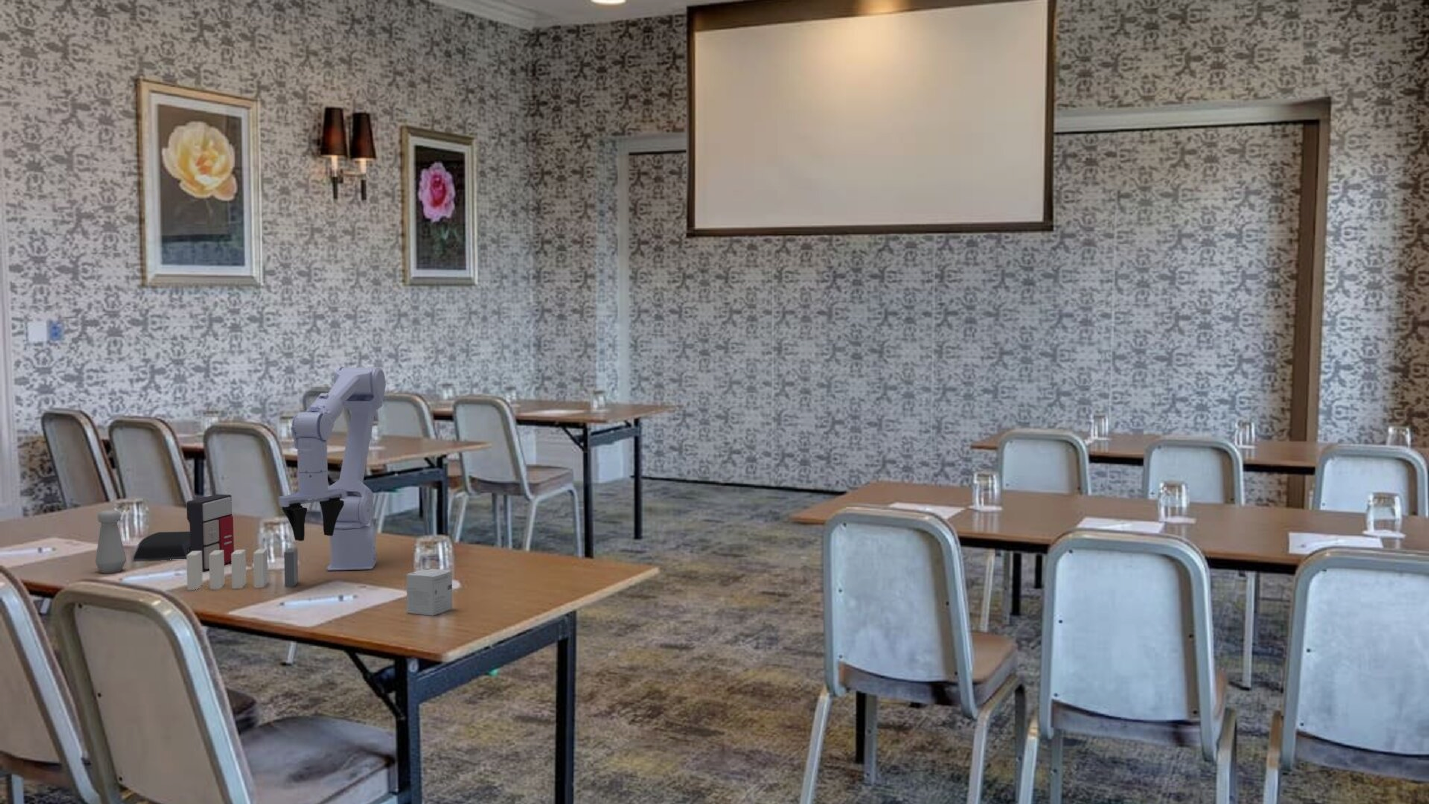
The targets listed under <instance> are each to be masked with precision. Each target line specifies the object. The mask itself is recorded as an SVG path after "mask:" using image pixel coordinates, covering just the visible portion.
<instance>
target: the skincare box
mask: <svg viewBox="0 0 1429 804" xmlns="http://www.w3.org/2000/svg"><path fill="white" fill-rule="evenodd" d="M452 573H453V571H452V570H450V569H449V570H448V569H438V568H426V567H425V568H423V569H420V570H415V571H413V572H410V573H407V574H406V613H407V614H416V615H424V616H436V615H439V614H441V613H444V612H447V611H451V610H452V609H453V576H452V575H453V574H452Z"/></svg>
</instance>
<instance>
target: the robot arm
mask: <svg viewBox="0 0 1429 804" xmlns="http://www.w3.org/2000/svg"><path fill="white" fill-rule="evenodd" d="M386 387H387V382H386V376H385V373H384V371H383V369H382V368H381V367H379V366H375V367H358V366H357V367H350V366H348V367H346V366H339V367H337V369H336V370H335V371H334V374H333V385H332V387H331V388H330V390H328V392H321V393H320V394H319V395H318V397H316V399H314V401H313V402H312V404H311V405H310V406H309V407H308V408H307V409H306V410H305V411H300V412H298V414H295V415H294V416H293V419H292V422H291V426H290V431H291V435H292V438H293V443H294V449H296V450H297V452H296V453H297V492H295V493H291V494H286V495H281V496H278V507H280V508H281V509H282V511H283V513H284V514H285V516H286V518H287V519H288V521H289V524H290V527H291V530H292V533H293V537H294V539H295V541H299V542H303V541H305V525H306V524H305V523H306V517H307V512H308V507H303V504H304V505H305V504H311V503H318V502H319V505H320V516H321V519H322V524H323V525H322V526H323V527H322V528H323V534H324V536H329V537H330V543H329V544H330V563H329V565H328V566H327V567H326V571H348V570H349V571H350V570H351V571H353V570H358V571H359V570H372V569H374V567H375V565H376V563H377V549H376V548H377V547H376V543H377V542H376V541H377V539H376V527H375V526H373V525H368V524H369V523H370V522H371V520H372V518H373V516H374V515H373V514H374V493H373V491H372V490H371V489H370V487H368V486H367V485H366V484H364V478H365V473H366V472H365V471H366V467H367V461H368V455H369V450H370V443H371V438H372V433H373V427H374V420H375V416H376V415H375V414H376V411H377V410H379V409H381V408H382V406H383V402H384V398H385V393H386ZM344 408H345V409H347V410H349V411H350V412H351V414H350V420H349V424H348V425H349V426H348V430H347V436H346V441H345V448H344V454H343V459H342V464H341V469H340V474H339V479H338V480H337V481H336V482H334V483H332V484H331V485H329V481H328V479H329V477H328V475H329V474H328V473H329V472H328V471H329V470H328V440H329V439H330V438H331V436H332V433H333V428H334V426H335V421H337V419H338V418H339V417H340V416H341V414H342V413H343V411H344Z"/></svg>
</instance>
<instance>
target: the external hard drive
mask: <svg viewBox="0 0 1429 804" xmlns="http://www.w3.org/2000/svg"><path fill="white" fill-rule="evenodd" d="M190 552H191V551H190V530H189V531H157V532H153V533H151V534H149V535H146V536H145V537H144V538H142V539H141V540H140V541H139V542H138V544H137V546H136V548H135V551H134V553H133V557H132V558H131V562H134V563H135V562H158V561H159V562H162V561H161V560H167V561H173V560H172V559H187V555H188V554H189V553H190ZM170 559H171V560H170Z"/></svg>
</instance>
